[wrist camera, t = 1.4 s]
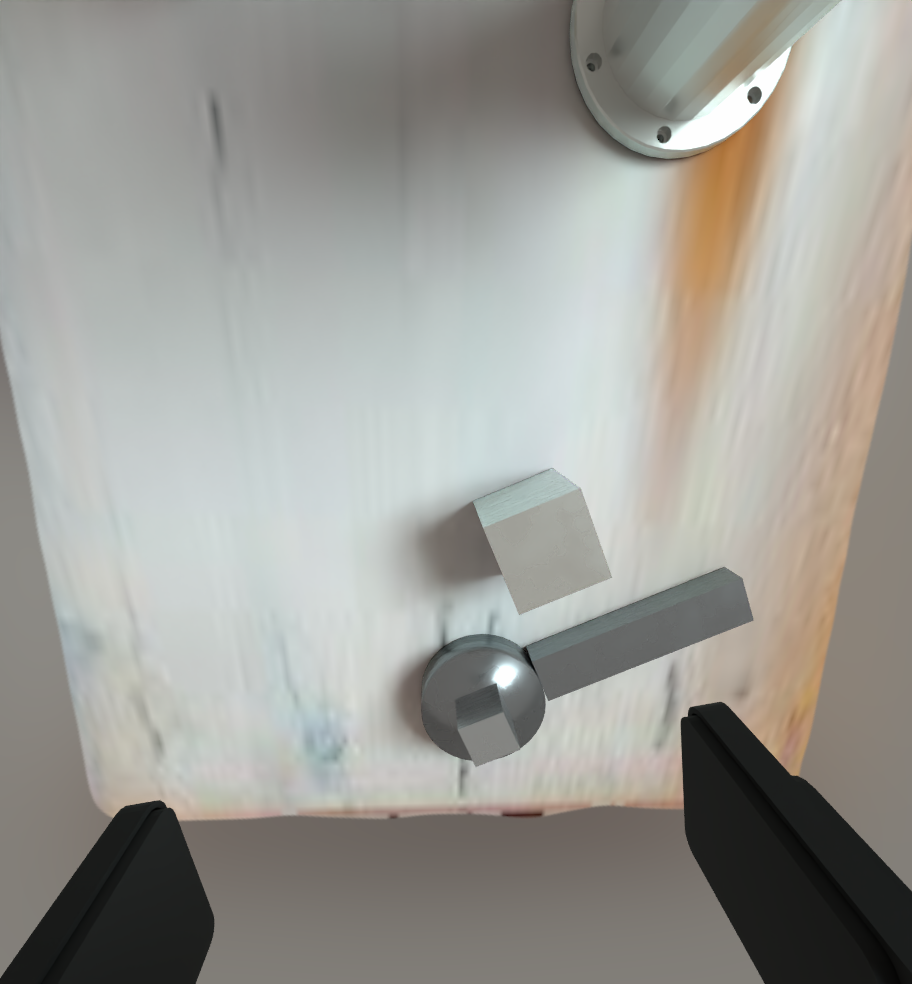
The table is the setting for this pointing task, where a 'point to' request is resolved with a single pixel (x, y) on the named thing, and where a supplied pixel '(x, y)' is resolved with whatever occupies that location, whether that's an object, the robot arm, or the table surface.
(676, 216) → the table surface
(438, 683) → the ratchet
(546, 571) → the brushed grey cube
